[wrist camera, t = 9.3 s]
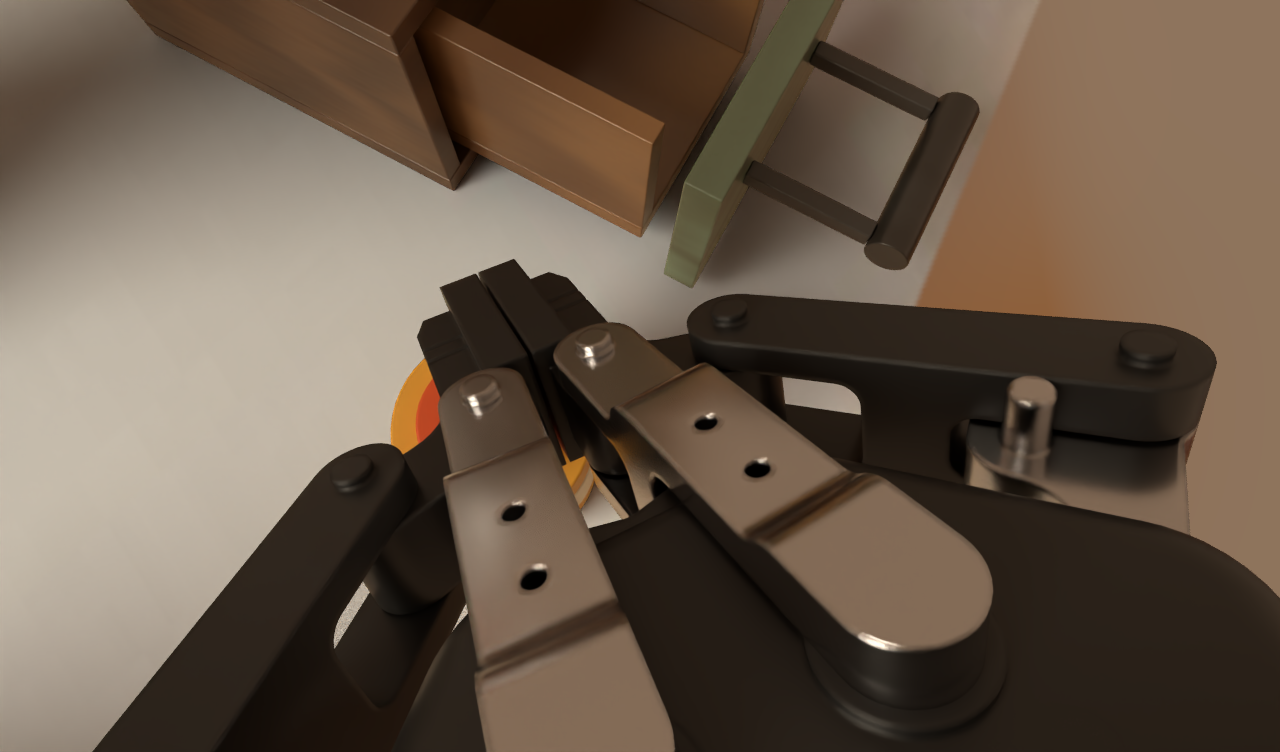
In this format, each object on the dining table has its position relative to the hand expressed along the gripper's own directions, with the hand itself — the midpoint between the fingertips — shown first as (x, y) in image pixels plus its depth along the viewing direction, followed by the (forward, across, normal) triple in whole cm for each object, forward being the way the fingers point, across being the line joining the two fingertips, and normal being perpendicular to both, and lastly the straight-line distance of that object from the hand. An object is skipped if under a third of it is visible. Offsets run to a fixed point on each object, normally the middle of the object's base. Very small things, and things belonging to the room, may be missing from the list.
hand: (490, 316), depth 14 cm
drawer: (+13, -10, +2) cm, 16 cm away
